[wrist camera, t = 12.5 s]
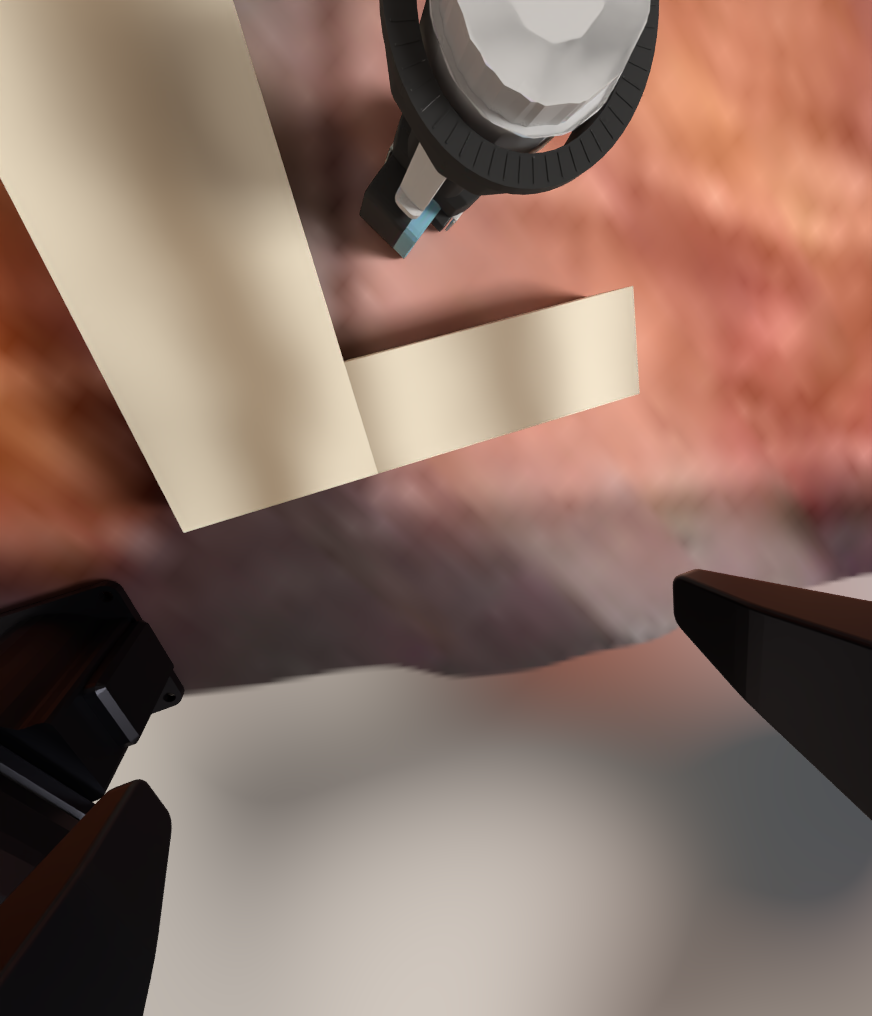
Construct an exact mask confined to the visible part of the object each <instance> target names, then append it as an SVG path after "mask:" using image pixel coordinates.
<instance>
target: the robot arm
mask: <svg viewBox="0 0 872 1016" xmlns="http://www.w3.org/2000/svg"><path fill="white" fill-rule="evenodd" d="M103 591H107V592H110V593H111V594H112V595H113V597H107V596H105V595H104V594H103ZM673 605H674V616H675V620H676V622H677V624H678V625H679V627H680V628H681V629H682V630H683V631H684V633H685V634H686V635H687V636H688V637H689V638H690V639H691V641H692V642H693V643H694V644H695V645H696V646H697V647H698V648H699V649H700V651H701V652H702V653H703V654H704V655H705V656H706V657H707V659H708V660H709V661H710V662H711V663H712V664H713V665H714V666H715V668H716V669H717V670H718V671H719V672H720V673H721V674H722V675H723V677H724V678H725V679H726V680H727V681H728V682H729V683H730V685H731V686H732V687H733V688H734V689H735V690H736V691H737V692H738V693H739V694H740V695H741V696H742V697H743V698H744V700H745V701H746V702H747V703H748V704H750V706H752V707H753V709H755V710H756V711H757V712H758V713H759V714H760V715H761V716H762V717H763V718H764V719H765V720H766V721H767V722H768V723H769V724H770V725H771V726H772V727H774V729H775V730H777V731H778V732H779V733H780V734H781V735H782V736H783V737H784V738H785V739H786V740H787V741H788V742H789V743H790V744H791V745H792V746H793V747H795V748H796V749H797V750H798V751H799V752H800V753H801V754H802V755H803V756H804V757H805V758H806V759H807V760H808V761H809V762H810V763H811V764H813V765H814V766H815V767H816V768H817V769H818V770H819V771H820V772H821V773H822V774H823V775H824V776H825V777H826V778H827V779H828V780H830V782H832V783H833V784H834V785H835V786H836V787H837V788H838V789H839V790H840V791H841V792H842V793H843V794H844V795H845V796H846V797H847V798H848V799H850V800H851V801H852V802H853V803H854V804H855V805H856V806H857V807H858V808H859V809H860V810H861V811H862V812H863V813H864V814H865V815H867V817H869V818H870V819H871V820H872V601H867V600H861V599H856V598H850V597H845V596H840V595H834V594H829V593H824V592H818V591H813V590H808V589H802V588H797V587H792V586H786V585H781V584H776V583H770V582H765V581H760V580H755V579H749V578H744V577H739V576H733V575H728V574H723V573H717V572H712V571H707V570H701V569H694V570H691V571H688V572H686V573H683V574H680V575H678V576H676V577H675V579H674V581H673ZM173 668H174V665H173V663H172V662H171V660H170V658H169V657H168V655H167V654H166V652H165V650H164V649H163V647H162V645H161V644H160V642H159V640H158V639H157V637H156V635H155V634H154V632H153V630H152V629H151V627H150V625H149V624H148V623H146V622H145V621H143V620H142V618H141V617H140V615H139V613H138V612H137V610H136V609H135V607H134V605H133V604H132V602H131V600H130V599H129V597H128V595H127V594H126V592H125V591H124V589H123V587H122V586H121V585H120V584H118V583H116V582H113V581H105V582H101V583H98V584H95V585H92V586H88V587H85V588H82V589H79V590H76V591H72V592H69V593H66V594H63V595H60V596H56V597H53V598H50V599H47V600H44V601H40V602H37V603H34V604H31V605H28V606H24V607H21V608H18V609H15V610H12V611H8V612H5V613H2V614H0V1016H143V1013H144V1008H145V1003H146V998H147V994H148V989H149V984H150V980H151V974H152V969H153V964H154V959H155V953H156V947H157V940H158V934H159V925H160V918H161V910H162V902H163V893H164V886H165V878H166V870H167V862H168V855H169V846H170V839H171V818H170V815H169V812H168V811H167V809H166V808H165V806H164V805H163V804H162V802H161V801H160V800H159V798H158V797H157V795H156V794H155V793H154V791H153V790H152V789H151V787H150V786H149V785H148V783H147V782H145V781H143V780H140V779H139V780H134V781H131V782H128V783H126V784H123V785H120V786H118V787H115V788H113V789H111V790H109V791H108V792H107V793H106V794H105V792H106V790H107V788H108V786H109V784H110V782H111V780H112V778H113V776H114V774H115V772H116V770H117V768H118V766H119V764H120V762H121V760H122V758H123V756H124V754H125V752H126V750H127V748H128V746H131V745H133V744H136V743H137V741H138V740H139V738H140V736H141V734H142V732H143V730H144V728H145V726H146V724H147V722H148V720H149V718H150V715H151V714H152V713H155V712H158V711H161V710H164V709H166V708H169V707H172V706H174V705H177V704H178V703H179V702H180V701H181V699H182V697H183V694H184V687H183V686H182V684H181V682H180V681H179V679H178V677H177V676H176V674H175V673H174V671H173ZM167 693H173V694H174V696H170V695H168V694H167ZM104 794H105V795H104ZM100 798H101V799H100ZM98 799H100V800H99V801H98V802H97V803H96V804H94V803H93V801H96V800H98Z"/></svg>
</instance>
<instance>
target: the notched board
mask: <svg viewBox="0 0 872 1016" xmlns="http://www.w3.org/2000/svg"><path fill="white" fill-rule="evenodd" d="M0 178H1V180H2V182H3V184H4V186H5V188H6V190H7V192H8V194H9V196H10V198H11V200H12V201H13V203H14V205H15V207H16V209H17V211H18V213H19V215H20V217H21V219H22V221H23V223H24V225H25V227H26V229H27V231H28V232H29V234H30V236H31V238H32V240H33V242H34V244H35V246H36V248H37V250H38V252H39V254H40V256H41V258H42V260H43V261H44V263H45V265H46V267H47V269H48V271H49V273H50V275H51V277H52V279H53V281H54V283H55V285H56V287H57V289H58V290H59V292H60V294H61V296H62V298H63V300H64V302H65V304H66V306H67V308H68V310H69V312H70V314H71V316H72V318H73V320H74V321H75V323H76V325H77V327H78V329H79V331H80V333H81V335H82V337H83V339H84V341H85V343H86V345H87V347H88V349H89V350H90V352H91V354H92V356H93V358H94V360H95V362H96V364H97V366H98V368H99V370H100V372H101V374H102V376H103V378H104V380H105V381H106V383H107V385H108V387H109V389H110V391H111V393H112V395H113V397H114V399H115V401H116V403H117V405H118V407H119V409H120V410H121V412H122V414H123V416H124V418H125V420H126V422H127V424H128V426H129V428H130V430H131V432H132V434H133V436H134V438H135V440H136V441H137V443H138V445H139V447H140V449H141V451H142V453H143V455H144V457H145V459H146V461H147V463H148V465H149V467H150V469H151V470H152V472H153V474H154V476H155V478H156V480H157V482H158V484H159V486H160V488H161V490H162V492H163V494H164V496H165V498H166V499H167V501H168V503H169V505H170V507H171V509H172V511H173V513H174V515H175V517H176V519H177V521H178V523H179V525H180V527H181V529H182V530H183V532H184V533H185V532H188V531H191V530H195V529H198V528H201V527H205V526H208V525H211V524H214V523H218V522H221V521H224V520H227V519H231V518H234V517H237V516H241V515H244V514H247V513H250V512H254V511H257V510H260V509H263V508H267V507H270V506H273V505H277V504H280V503H283V502H286V501H290V500H293V499H296V498H299V497H303V496H306V495H309V494H313V493H316V492H319V491H322V490H326V489H329V488H332V487H336V486H339V485H342V484H345V483H349V482H352V481H355V480H358V479H362V478H365V477H368V476H372V475H375V474H378V473H381V472H385V471H388V470H391V469H394V468H398V467H401V466H404V465H408V464H411V463H414V462H417V461H421V460H424V459H427V458H430V457H434V456H437V455H440V454H444V453H447V452H450V451H453V450H457V449H460V448H463V447H466V446H470V445H473V444H476V443H480V442H483V441H486V440H489V439H493V438H496V437H499V436H503V435H506V434H509V433H512V432H516V431H519V430H522V429H525V428H529V427H532V426H535V425H539V424H542V423H545V422H548V421H552V420H555V419H558V418H561V417H565V416H568V415H571V414H575V413H578V412H581V411H584V410H588V409H591V408H594V407H597V406H601V405H604V404H607V403H611V402H614V401H617V400H620V399H624V398H627V397H630V396H634V395H637V394H639V377H638V360H637V343H636V327H635V310H634V293H633V286H631V287H626V288H622V289H618V290H613V291H609V292H605V293H601V294H596V295H592V296H588V297H584V298H580V299H576V300H573V301H569V302H565V303H561V304H557V305H554V306H550V307H546V308H542V309H539V310H535V311H531V312H527V313H523V314H520V315H516V316H512V317H508V318H504V319H501V320H497V321H493V322H489V323H486V324H482V325H478V326H474V327H470V328H467V329H463V330H459V331H455V332H451V333H448V334H444V335H440V336H436V337H433V338H429V339H425V340H421V341H417V342H414V343H410V344H406V345H402V346H399V347H395V348H391V349H387V350H383V351H380V352H376V353H372V354H368V355H364V356H361V357H357V358H353V359H349V360H346V361H343V357H342V354H341V351H340V348H339V344H338V341H337V338H336V335H335V331H334V328H333V325H332V322H331V318H330V315H329V312H328V309H327V305H326V302H325V299H324V296H323V292H322V289H321V286H320V283H319V279H318V276H317V273H316V269H315V266H314V263H313V260H312V256H311V253H310V250H309V247H308V243H307V240H306V237H305V234H304V230H303V227H302V224H301V221H300V217H299V214H298V211H297V208H296V204H295V201H294V198H293V195H292V191H291V188H290V185H289V182H288V178H287V175H286V172H285V169H284V165H283V162H282V159H281V155H280V152H279V149H278V146H277V142H276V139H275V136H274V133H273V129H272V126H271V123H270V120H269V116H268V113H267V110H266V107H265V103H264V100H263V97H262V94H261V90H260V87H259V84H258V81H257V77H256V74H255V71H254V68H253V64H252V61H251V58H250V55H249V51H248V48H247V45H246V42H245V38H244V35H243V32H242V28H241V25H240V22H239V19H238V15H237V12H236V9H235V6H234V2H233V0H0Z"/></svg>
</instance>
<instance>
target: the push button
mask: <svg viewBox="0 0 872 1016" xmlns="http://www.w3.org/2000/svg"><path fill="white" fill-rule="evenodd" d="M379 2H380V17H381V25H382V33H383V38H384V43H385V49H386V57H387V65H388V72H389V80H390V87H391V93H392V95H393V98H394V100H395V102H396V103H397V105H398V107H399V108H400V110H401V112H402V116H401V119H400V122H399V125H398V128H397V131H396V134H395V138H394V142H393V144H392V145H391V147H390V148H389V149H390V150H389V151H388V155H387V158H386V161H385V164H384V165H383V167H382V168H381V170H380V171H379V172H378V174H377V175H376V177H375V178H374V179H373V181H372V182H371V184H370V185H369V187H368V188H367V190H366V192H365V194H364V198H363V202H362V206H361V210H360V216H361V217H362V218H363V219H364V220H365V221H366V222H367V223H368V224H369V225H370V226H371V227H372V228H373V229H374V230H375V231H376V232H377V233H378V234H379V235H380V236H381V237H382V238H383V239H384V240H385V241H386V242H387V243H388V244H389V245H390V246H391V247H392V248H394V249H395V250H396V251H397V252H398V254H399V255H400V256H401V257H402V258H403V259H404V258H405V257H406V256H407V254H408V253H409V252H410V250H411V249H412V248H413V246H414V245H415V243H416V242H417V240H418V239H419V238H420V236H421V235H422V234H423V232H424V231H425V229H426V228H427V227H428V225H429V224H430V223H432V224H433V226H434V227H435V228H436V229H437V230H438V231H439V232H440V231H441V230H442V229H443V228H444V227H445V225H446V224H447V223H448V221H449V220H450V219H451V217H452V218H453V220H452V221H451V222H450V224H449V225H448V226H447V228H446V229H445V230H446V231H447V230H448V229H449V228H450V227H451V226H452V225H453V224H454V223H455V222H456V221H457V220H458V218H459V217H460V216H461V214H462V213H463V212H464V211H465V210H466V209H468V208H469V207H470V206H471V205H472V204H473V203H474V202H475V201H476V200H477V199H478V198H479V197H480V196H481V195H492V194H504V193H508V194H521V195H526V194H537V193H541V192H546V191H550V190H552V189H555V188H558V187H560V186H562V185H564V184H566V183H568V182H570V181H572V180H573V179H575V178H576V177H578V176H579V175H581V174H582V173H584V172H585V171H586V170H588V169H589V168H591V167H592V166H593V165H594V164H595V163H597V162H598V161H599V160H600V159H601V158H602V157H603V156H604V155H605V154H606V153H607V152H608V151H609V150H610V149H611V148H612V147H613V145H614V144H615V143H616V141H617V140H618V139H619V137H620V136H621V135H622V133H623V132H624V130H625V128H626V127H627V125H628V123H629V122H630V120H631V118H632V116H633V114H634V112H635V110H636V108H637V106H638V104H639V102H640V99H641V97H642V94H643V92H644V89H645V86H646V83H647V79H648V76H649V73H650V69H651V65H652V61H653V56H654V51H655V45H656V38H657V29H658V17H659V0H426V3H425V6H424V10H423V13H422V17H421V20H420V24H419V19H418V11H417V0H379ZM571 131H572V133H571V135H570V136H569V138H568V140H567V141H566V143H565V145H564V146H562V147H560V148H557V149H555V150H551V151H547V152H543V153H536V152H537V151H539V150H540V149H542V148H543V147H544V146H545V145H546V144H547V143H548V142H549V141H550V140H551V139H552V138H553V137H554V136H559V135H564V134H566V133H568V132H571Z"/></svg>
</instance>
